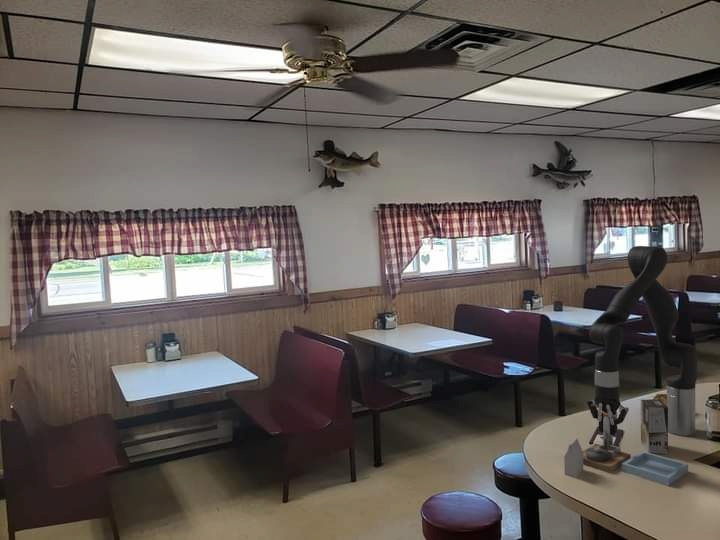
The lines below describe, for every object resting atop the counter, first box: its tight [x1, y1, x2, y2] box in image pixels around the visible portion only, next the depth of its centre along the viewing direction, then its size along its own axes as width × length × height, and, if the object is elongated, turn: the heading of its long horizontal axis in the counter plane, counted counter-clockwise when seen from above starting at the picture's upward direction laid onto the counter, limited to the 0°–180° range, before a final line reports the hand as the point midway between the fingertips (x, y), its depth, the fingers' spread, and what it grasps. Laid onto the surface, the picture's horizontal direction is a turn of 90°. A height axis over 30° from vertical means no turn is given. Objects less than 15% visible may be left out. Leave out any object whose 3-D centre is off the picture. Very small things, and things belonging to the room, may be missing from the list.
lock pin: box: [602, 412, 613, 445], centre depth 184 cm, size 3×3×11 cm
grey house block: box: [563, 438, 584, 478], centre depth 176 cm, size 4×7×10 cm, turn 141°
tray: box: [621, 450, 689, 487], centre depth 174 cm, size 14×14×2 cm
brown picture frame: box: [588, 425, 624, 447], centre depth 202 cm, size 9×1×18 cm
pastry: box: [652, 393, 667, 406], centre depth 225 cm, size 14×12×8 cm
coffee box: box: [640, 398, 669, 455], centre depth 191 cm, size 9×6×16 cm
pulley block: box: [583, 444, 632, 474], centre depth 183 cm, size 14×12×5 cm
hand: (607, 433), depth 185 cm, fingers closed on lock pin, 3 cm apart
